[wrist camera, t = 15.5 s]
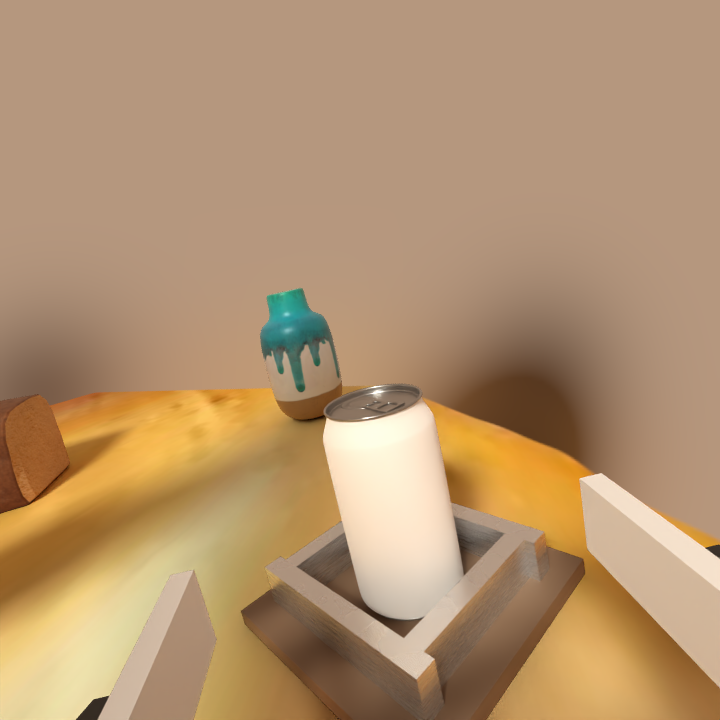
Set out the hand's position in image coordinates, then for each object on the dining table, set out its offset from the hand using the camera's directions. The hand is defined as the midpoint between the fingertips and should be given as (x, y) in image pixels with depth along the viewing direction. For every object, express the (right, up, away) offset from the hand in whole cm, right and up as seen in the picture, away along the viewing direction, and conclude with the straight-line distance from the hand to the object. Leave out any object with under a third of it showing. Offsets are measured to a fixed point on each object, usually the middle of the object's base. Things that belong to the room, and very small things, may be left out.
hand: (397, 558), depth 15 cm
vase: (-8, -2, +53) cm, 54 cm away
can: (+2, -7, +12) cm, 15 cm away
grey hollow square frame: (+2, -8, +13) cm, 15 cm away
